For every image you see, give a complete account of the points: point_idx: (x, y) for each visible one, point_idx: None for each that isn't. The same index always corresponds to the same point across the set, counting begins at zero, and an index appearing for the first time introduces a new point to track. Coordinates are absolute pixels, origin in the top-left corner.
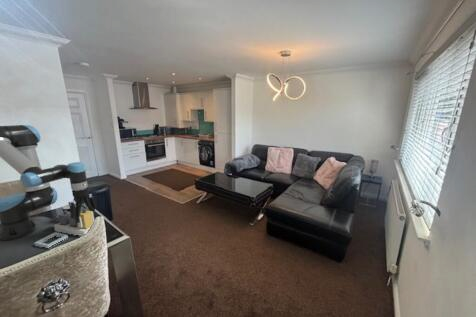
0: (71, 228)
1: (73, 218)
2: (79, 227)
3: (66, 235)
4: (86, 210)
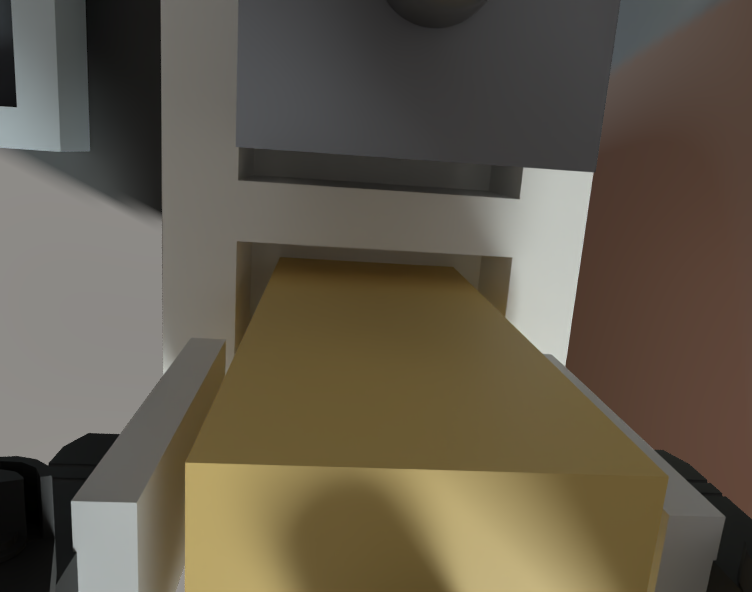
0: (175, 115)
1: (242, 98)
2: (290, 240)
3: (40, 148)
4: (628, 575)
